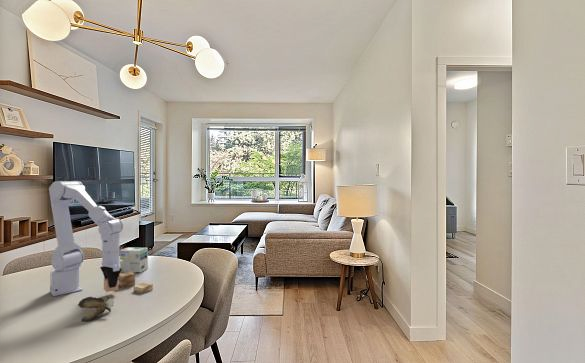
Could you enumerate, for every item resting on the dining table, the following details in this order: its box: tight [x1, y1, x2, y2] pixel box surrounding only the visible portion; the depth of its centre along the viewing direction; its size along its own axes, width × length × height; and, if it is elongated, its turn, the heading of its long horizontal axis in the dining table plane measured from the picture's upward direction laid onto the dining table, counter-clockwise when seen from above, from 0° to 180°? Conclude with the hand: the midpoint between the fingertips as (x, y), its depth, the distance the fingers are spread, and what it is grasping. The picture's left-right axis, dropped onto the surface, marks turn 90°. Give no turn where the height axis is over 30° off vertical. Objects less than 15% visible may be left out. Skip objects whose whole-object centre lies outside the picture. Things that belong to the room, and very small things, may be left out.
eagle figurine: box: [77, 295, 115, 323], centre depth 102 cm, size 8×7×9 cm
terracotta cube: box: [103, 278, 119, 293], centre depth 120 cm, size 4×4×4 cm
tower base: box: [118, 279, 136, 288], centre depth 131 cm, size 5×5×2 cm
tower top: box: [118, 271, 136, 283], centre depth 131 cm, size 5×5×2 cm
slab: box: [133, 281, 154, 294], centre depth 125 cm, size 5×5×2 cm
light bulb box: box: [119, 247, 149, 273], centre depth 151 cm, size 11×7×11 cm, turn 84°
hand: (110, 285), depth 120 cm, fingers closed on terracotta cube, 4 cm apart
